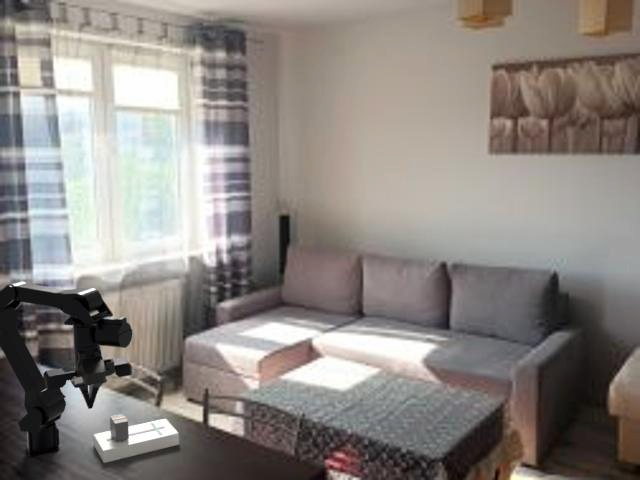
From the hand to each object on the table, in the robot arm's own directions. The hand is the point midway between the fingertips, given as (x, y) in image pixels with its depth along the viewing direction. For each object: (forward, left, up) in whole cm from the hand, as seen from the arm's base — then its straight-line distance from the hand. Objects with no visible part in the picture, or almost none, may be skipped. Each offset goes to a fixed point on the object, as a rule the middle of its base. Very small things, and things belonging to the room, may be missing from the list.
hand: (90, 408), depth 150 cm
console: (+11, 0, -12) cm, 16 cm away
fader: (+7, 0, -9) cm, 11 cm away
